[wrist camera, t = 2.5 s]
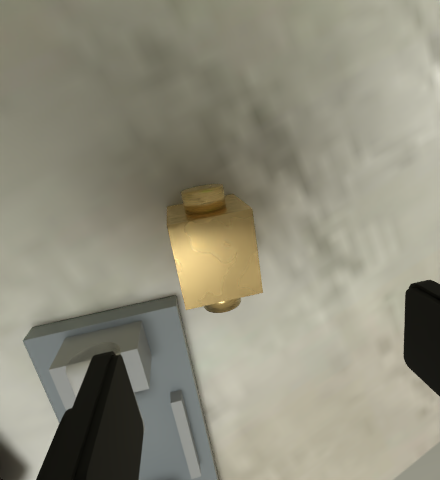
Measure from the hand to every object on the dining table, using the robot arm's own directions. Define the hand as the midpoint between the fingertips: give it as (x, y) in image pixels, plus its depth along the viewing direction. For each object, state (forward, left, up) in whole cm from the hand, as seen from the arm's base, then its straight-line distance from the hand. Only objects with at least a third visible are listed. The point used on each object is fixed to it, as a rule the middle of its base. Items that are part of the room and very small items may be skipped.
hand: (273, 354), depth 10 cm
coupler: (0, -1, -12) cm, 12 cm away
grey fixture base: (+15, -9, -12) cm, 21 cm away
